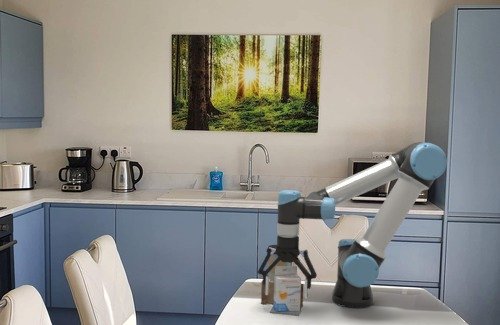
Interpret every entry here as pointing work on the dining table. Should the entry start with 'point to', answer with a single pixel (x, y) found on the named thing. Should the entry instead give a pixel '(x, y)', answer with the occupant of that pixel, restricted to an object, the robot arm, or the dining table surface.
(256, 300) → the dining table surface
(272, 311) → the mat
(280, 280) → the ink box
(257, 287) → the dining table surface
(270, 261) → the coffee cup
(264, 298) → the wooden stand
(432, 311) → the dining table surface
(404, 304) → the dining table surface
